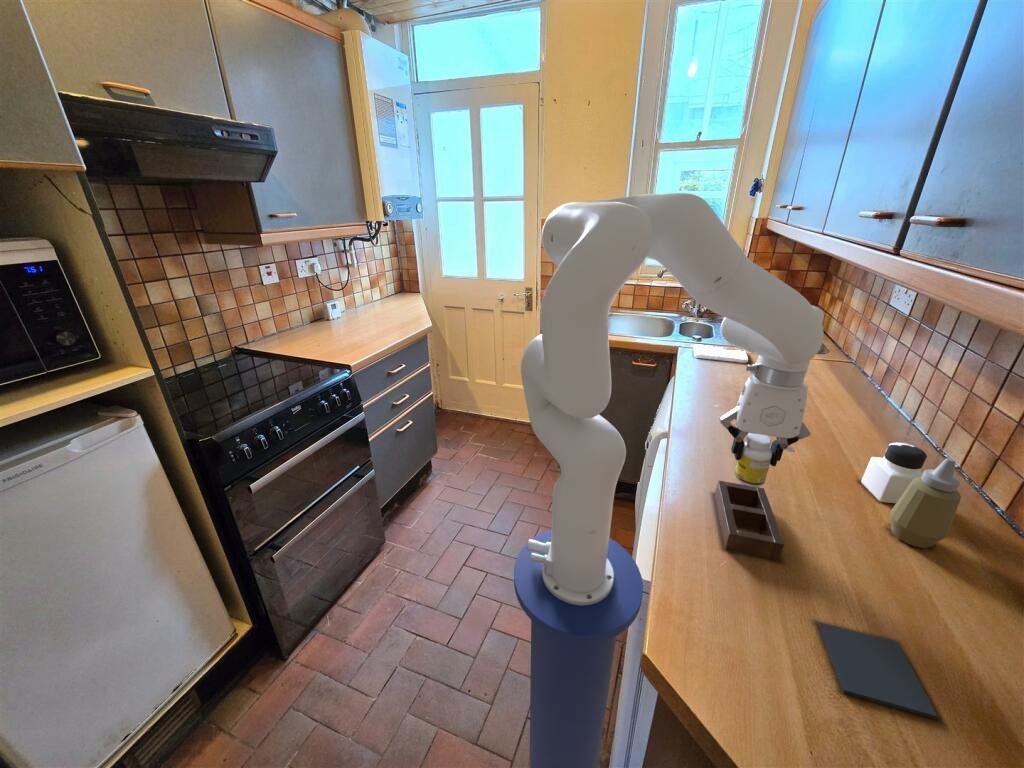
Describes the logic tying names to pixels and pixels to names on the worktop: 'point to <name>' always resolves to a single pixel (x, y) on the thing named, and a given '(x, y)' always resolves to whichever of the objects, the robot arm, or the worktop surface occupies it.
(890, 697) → the mat
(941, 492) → the squeeze bottle
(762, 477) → the supplement bottle
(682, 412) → the worktop surface
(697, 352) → the white flat block
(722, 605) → the worktop surface
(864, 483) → the medicine bottle
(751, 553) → the rack
